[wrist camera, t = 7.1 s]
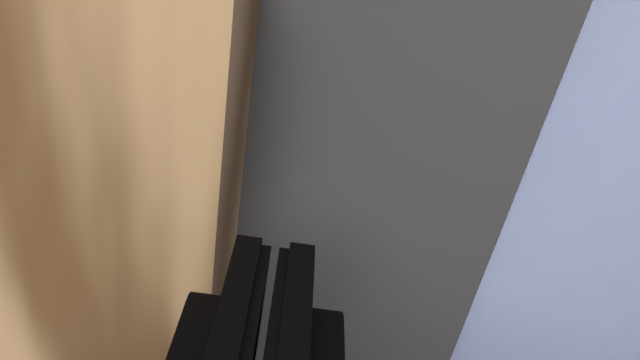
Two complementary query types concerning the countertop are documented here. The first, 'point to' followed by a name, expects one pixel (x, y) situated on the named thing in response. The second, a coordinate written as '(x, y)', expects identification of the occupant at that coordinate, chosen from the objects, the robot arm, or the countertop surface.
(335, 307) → the mat
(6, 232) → the slab
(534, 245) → the countertop surface
